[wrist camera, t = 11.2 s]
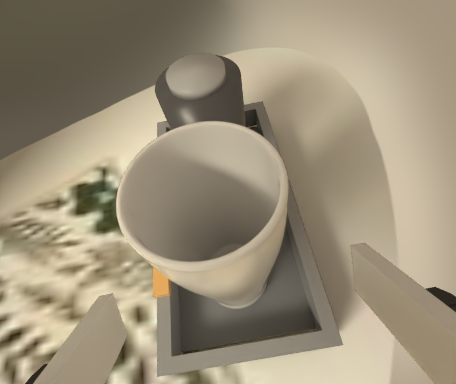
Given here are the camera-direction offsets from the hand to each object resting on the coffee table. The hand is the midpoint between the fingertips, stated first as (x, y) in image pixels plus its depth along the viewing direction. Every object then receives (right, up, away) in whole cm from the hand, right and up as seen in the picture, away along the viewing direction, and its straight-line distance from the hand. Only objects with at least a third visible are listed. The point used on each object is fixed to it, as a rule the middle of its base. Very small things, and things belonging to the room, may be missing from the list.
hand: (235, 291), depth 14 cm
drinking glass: (0, -2, +9) cm, 9 cm away
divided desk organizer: (0, +3, +12) cm, 13 cm away
